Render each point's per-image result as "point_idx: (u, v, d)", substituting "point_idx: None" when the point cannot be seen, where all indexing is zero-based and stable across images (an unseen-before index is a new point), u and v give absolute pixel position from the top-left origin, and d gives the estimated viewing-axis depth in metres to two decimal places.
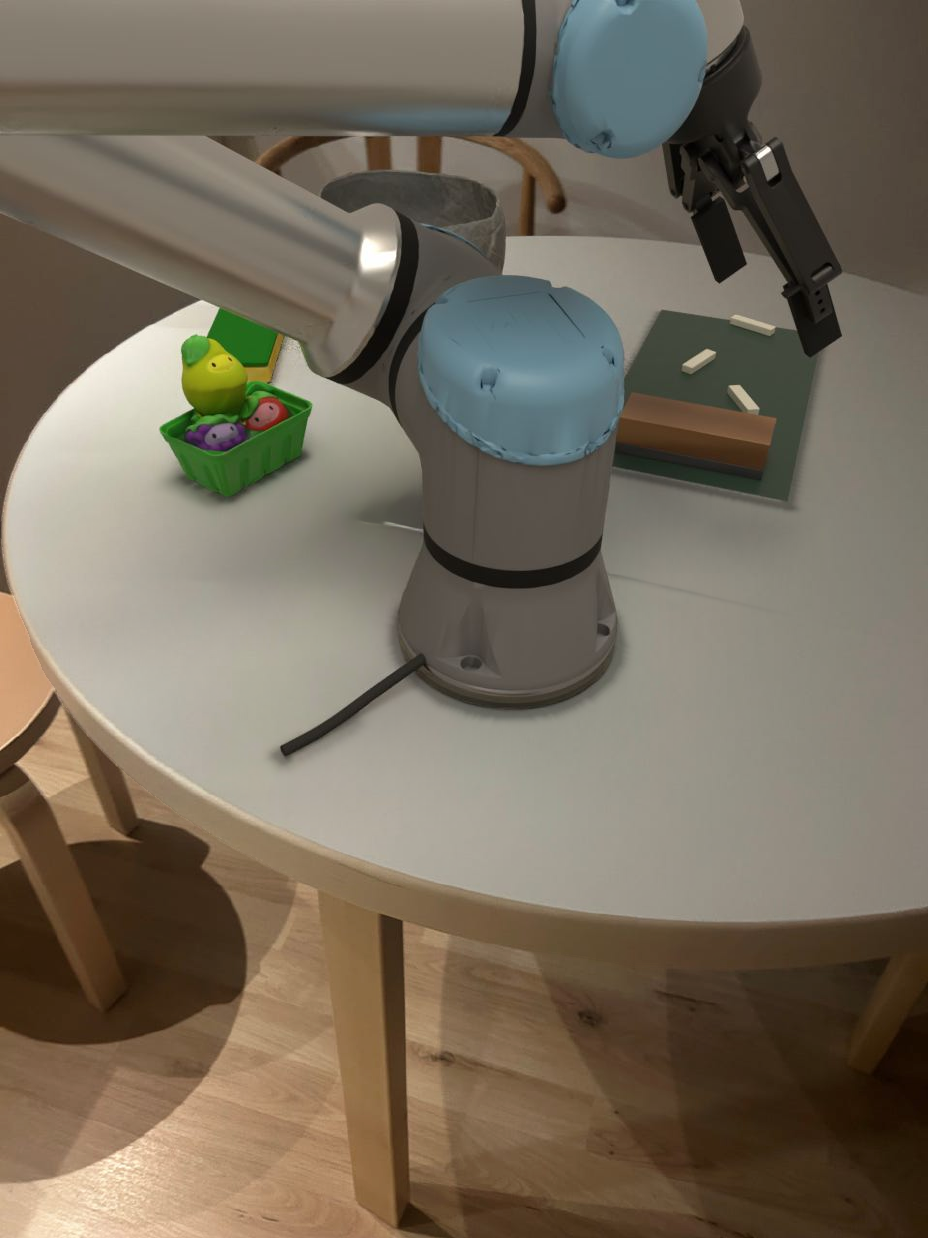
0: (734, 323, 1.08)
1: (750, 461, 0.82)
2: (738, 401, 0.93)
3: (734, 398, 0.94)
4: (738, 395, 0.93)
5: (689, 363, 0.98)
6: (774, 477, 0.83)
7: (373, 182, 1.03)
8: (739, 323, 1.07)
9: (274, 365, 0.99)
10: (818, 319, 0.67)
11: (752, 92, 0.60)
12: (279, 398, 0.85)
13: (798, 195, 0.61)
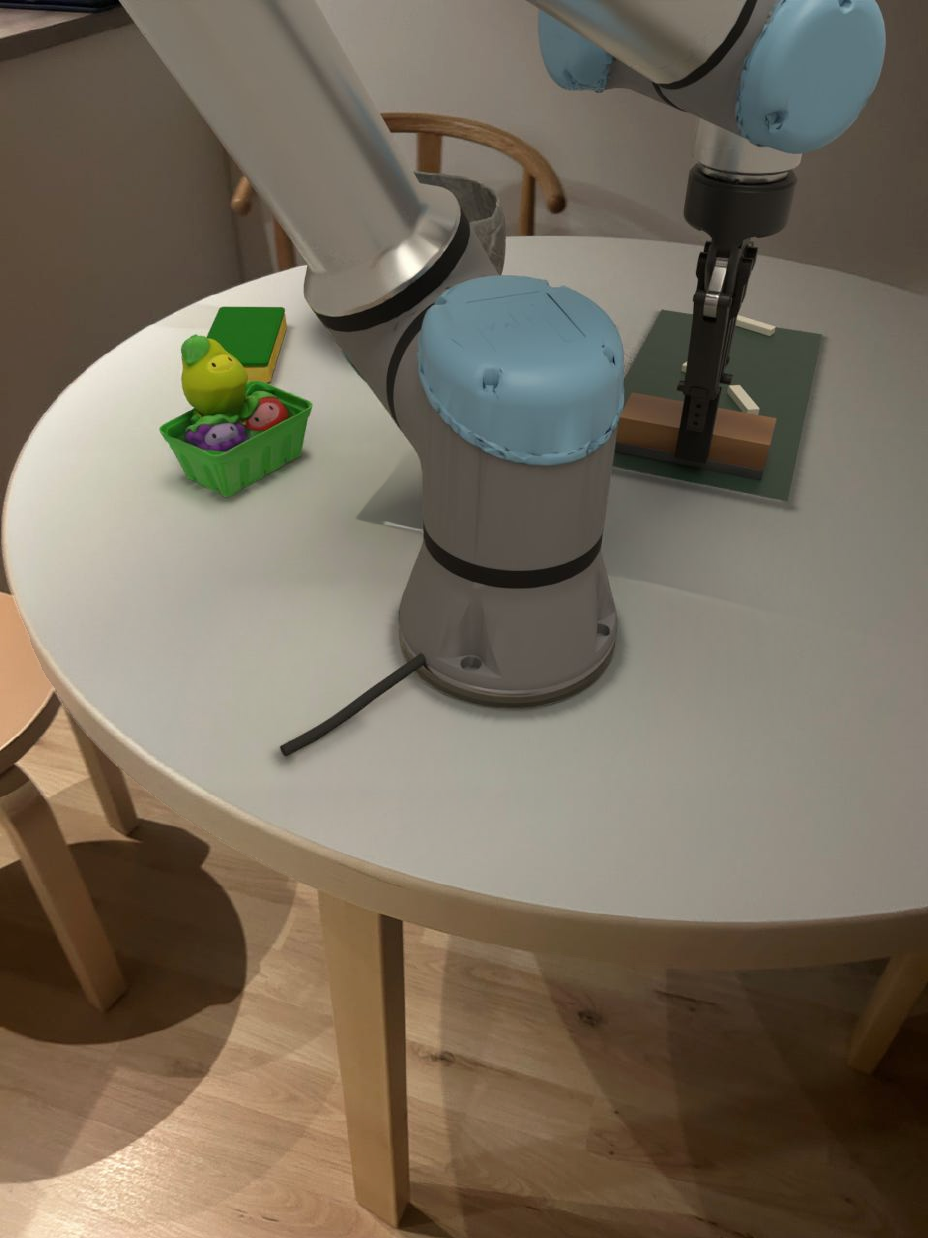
0: None
1: (750, 461, 0.82)
2: (738, 401, 0.93)
3: (734, 398, 0.94)
4: (738, 395, 0.93)
5: None
6: (774, 477, 0.83)
7: None
8: (739, 323, 1.07)
9: (274, 365, 0.99)
10: (689, 427, 0.80)
11: (754, 228, 0.67)
12: (279, 398, 0.85)
13: (718, 339, 0.71)
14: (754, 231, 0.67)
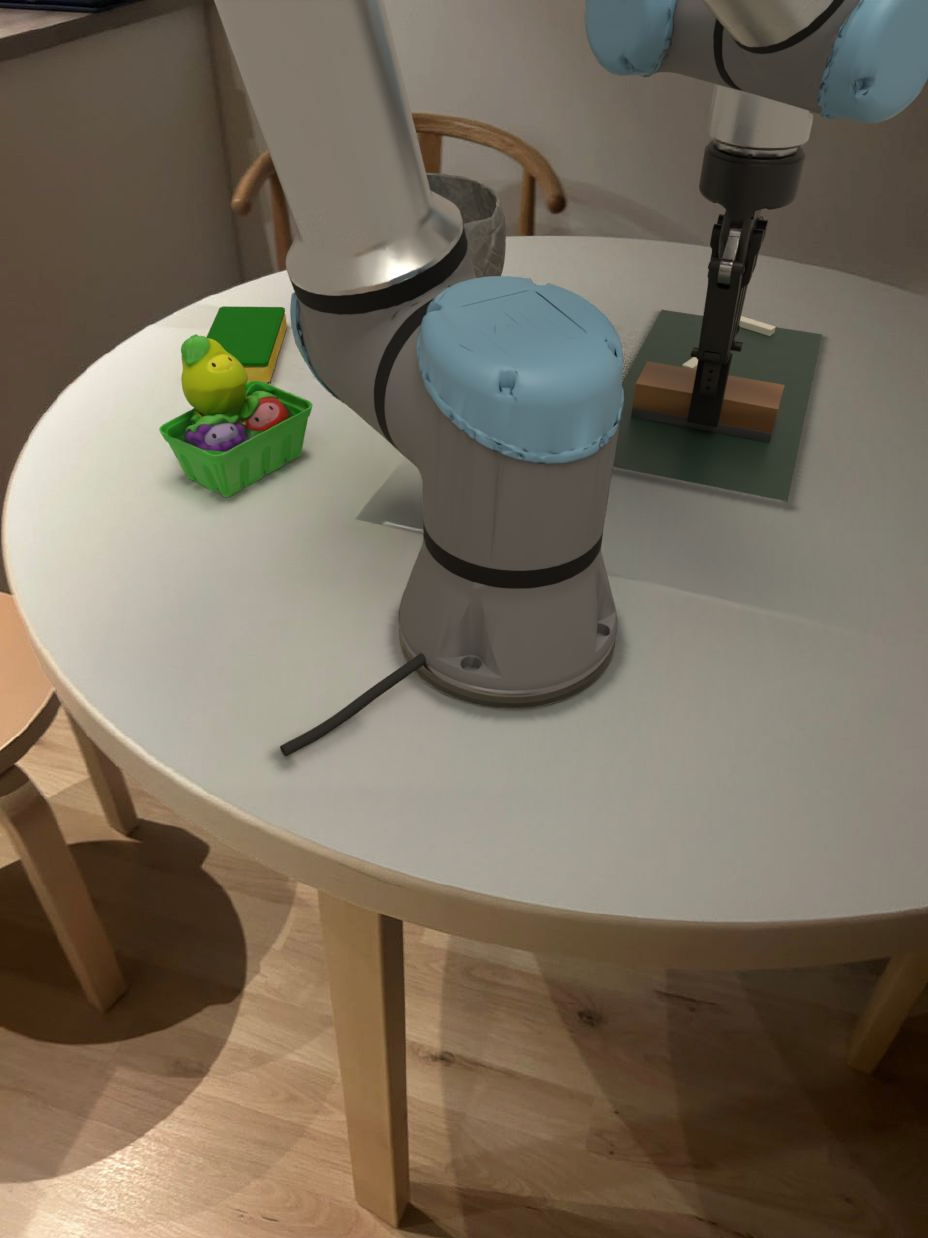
0: None
1: (759, 424, 0.87)
2: None
3: None
4: None
5: (689, 363, 0.98)
6: (774, 477, 0.83)
7: None
8: (739, 323, 1.07)
9: (274, 365, 0.99)
10: (702, 392, 0.85)
11: (766, 200, 0.72)
12: (279, 398, 0.85)
13: (731, 305, 0.76)
14: (765, 203, 0.72)
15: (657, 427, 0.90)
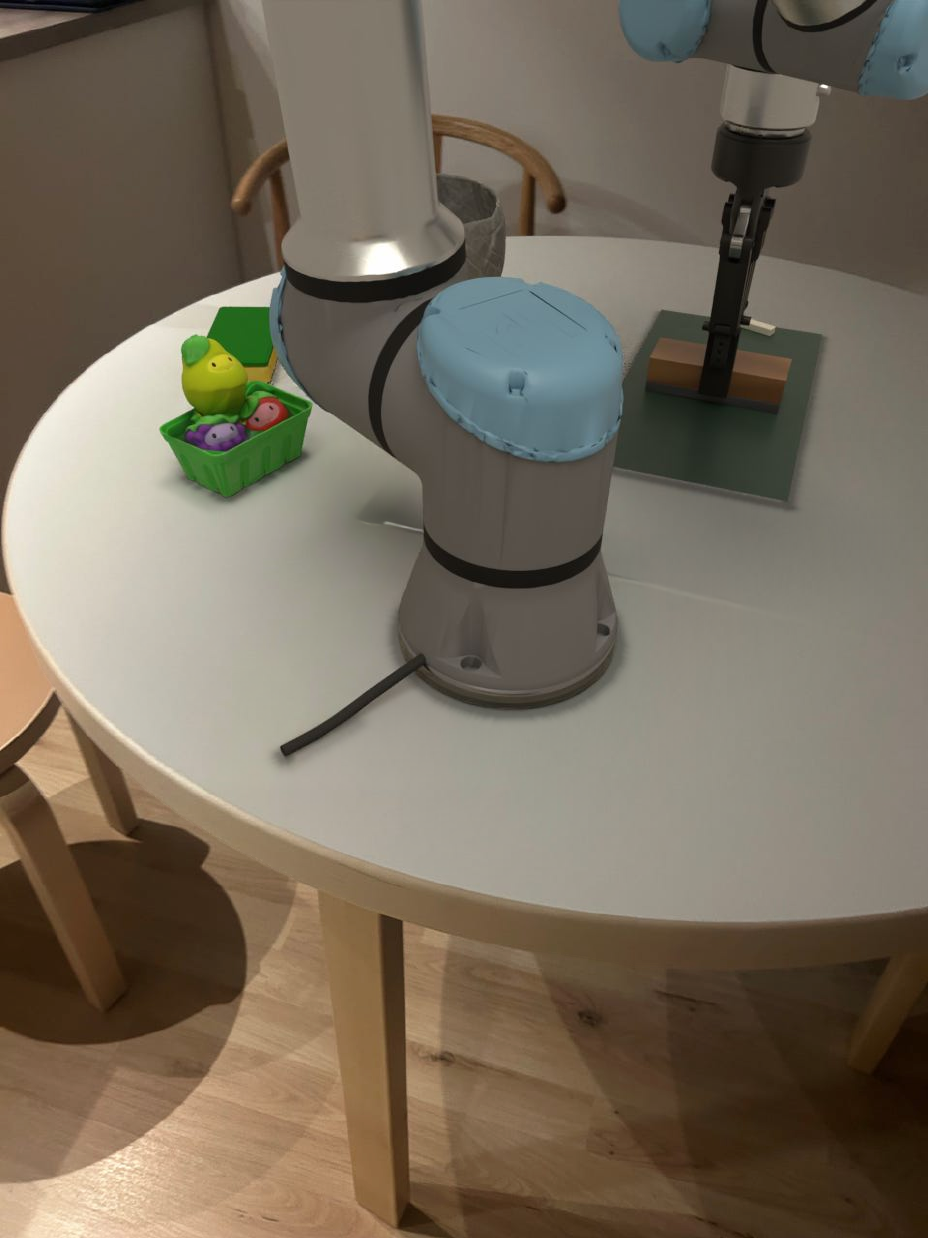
0: None
1: (768, 396, 0.91)
2: None
3: None
4: None
5: None
6: (774, 477, 0.83)
7: None
8: None
9: (274, 365, 0.99)
10: (712, 364, 0.89)
11: (775, 178, 0.76)
12: (279, 398, 0.85)
13: (741, 279, 0.80)
14: (774, 181, 0.76)
15: (657, 427, 0.90)
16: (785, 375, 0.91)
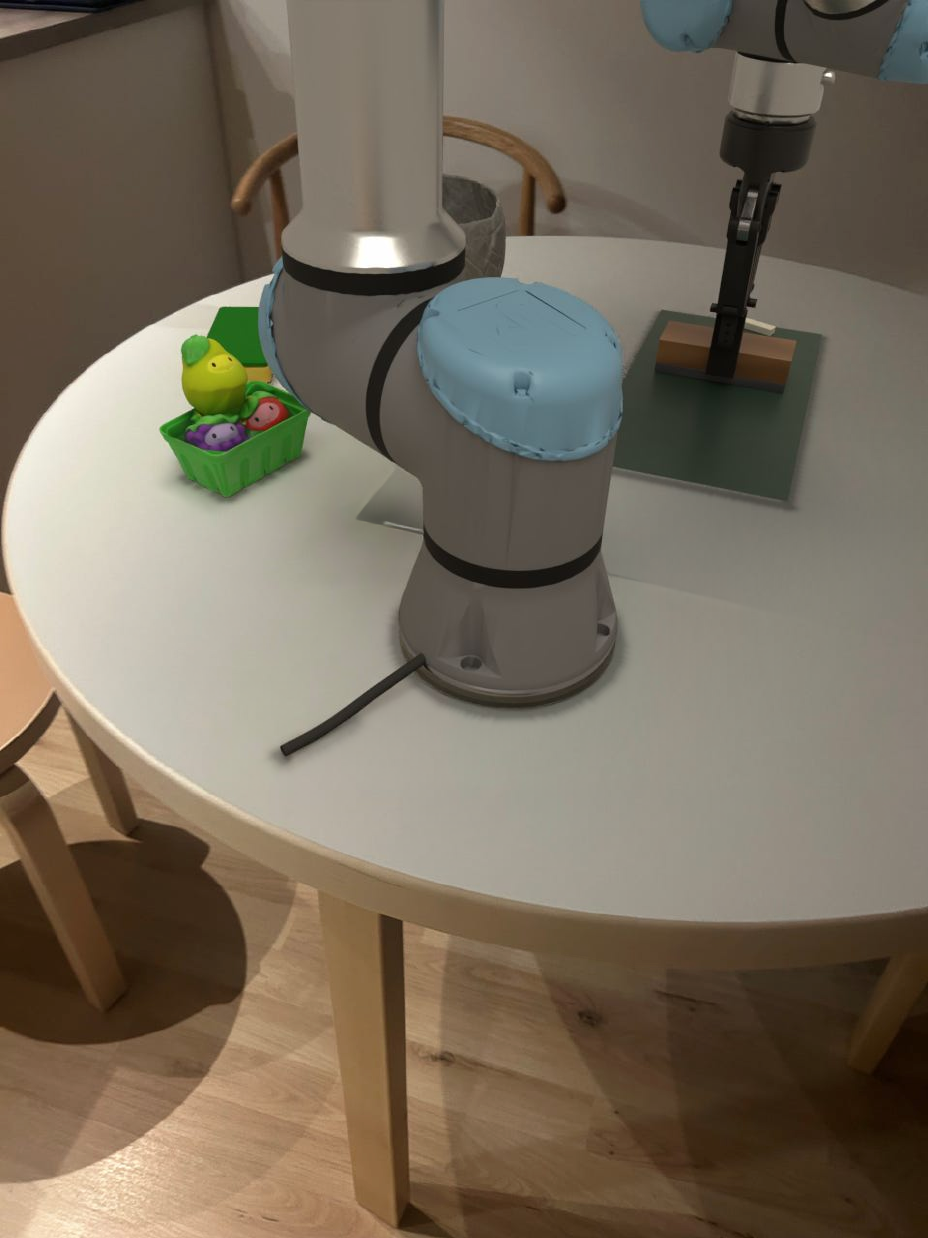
0: None
1: (774, 376, 0.95)
2: None
3: None
4: None
5: None
6: (774, 477, 0.83)
7: None
8: None
9: None
10: (719, 345, 0.92)
11: (781, 163, 0.79)
12: (279, 398, 0.85)
13: (748, 261, 0.83)
14: (781, 166, 0.80)
15: (657, 427, 0.90)
16: (790, 356, 0.94)
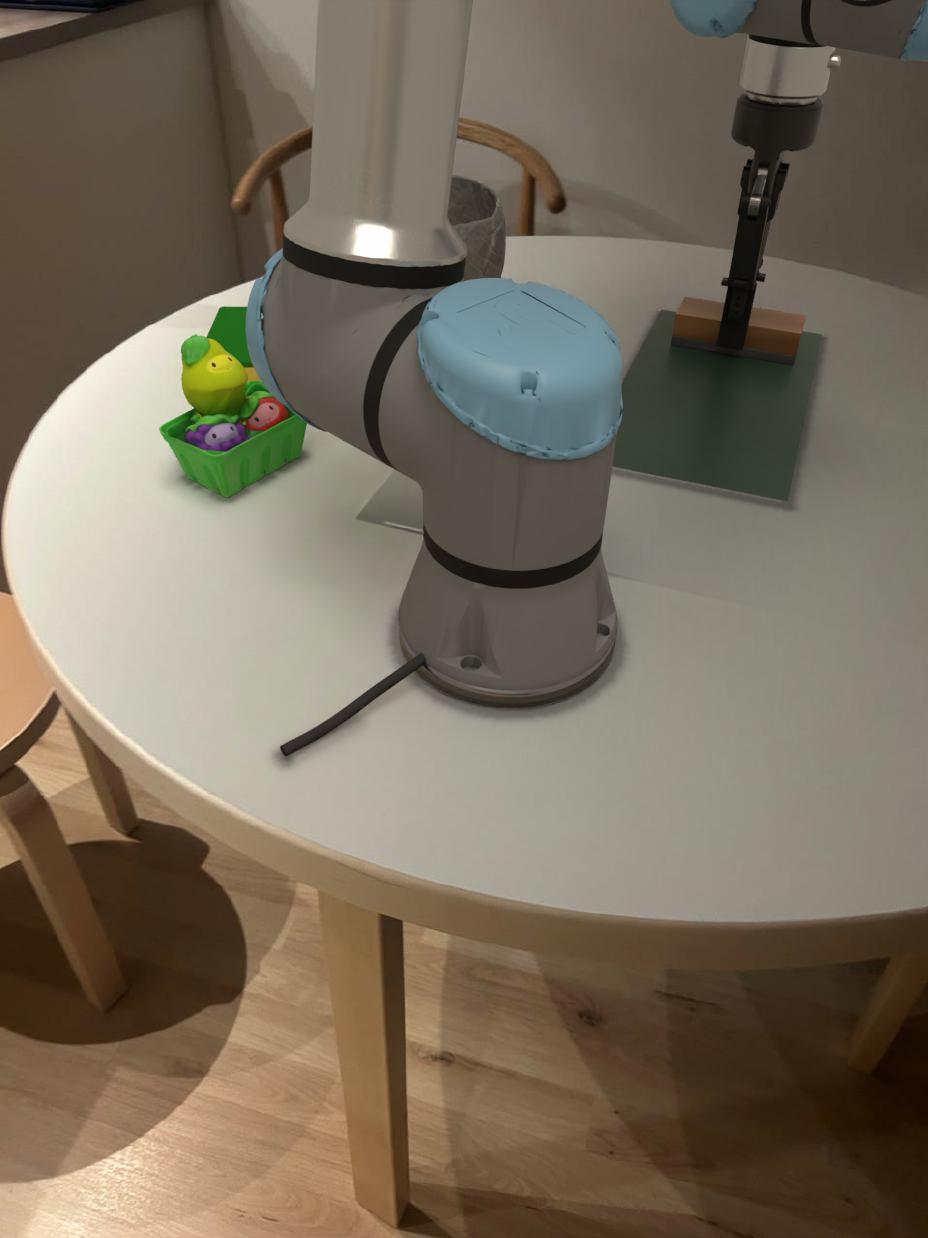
0: None
1: (784, 348, 0.99)
2: None
3: None
4: None
5: None
6: (774, 477, 0.83)
7: None
8: None
9: None
10: (730, 317, 0.97)
11: (790, 142, 0.84)
12: None
13: (758, 235, 0.88)
14: (789, 145, 0.85)
15: (657, 427, 0.90)
16: (800, 329, 0.99)
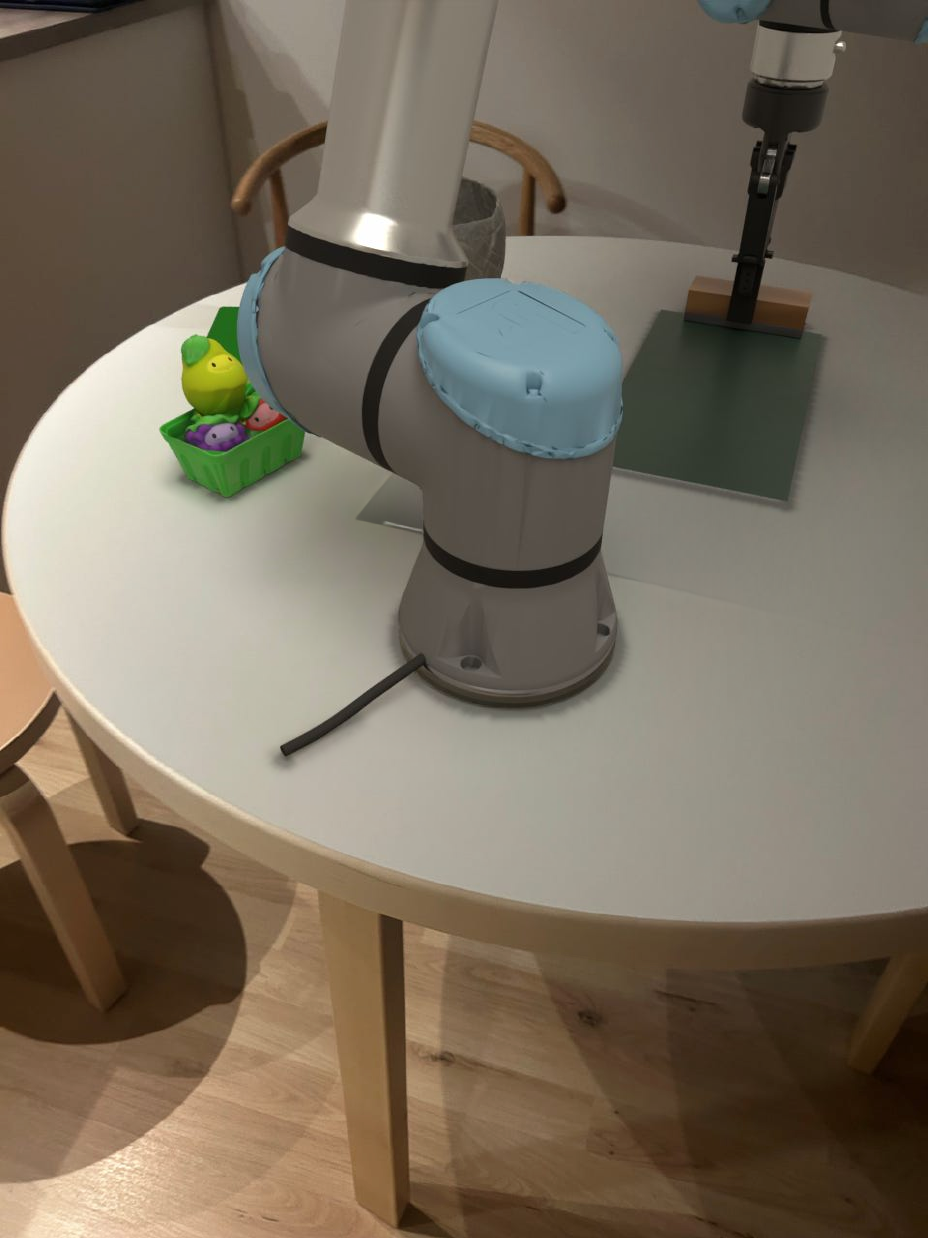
0: None
1: (793, 322, 1.04)
2: None
3: None
4: None
5: None
6: (774, 477, 0.83)
7: None
8: None
9: None
10: (740, 292, 1.02)
11: (797, 123, 0.89)
12: None
13: (767, 213, 0.94)
14: (797, 126, 0.90)
15: (657, 427, 0.90)
16: (808, 303, 1.04)
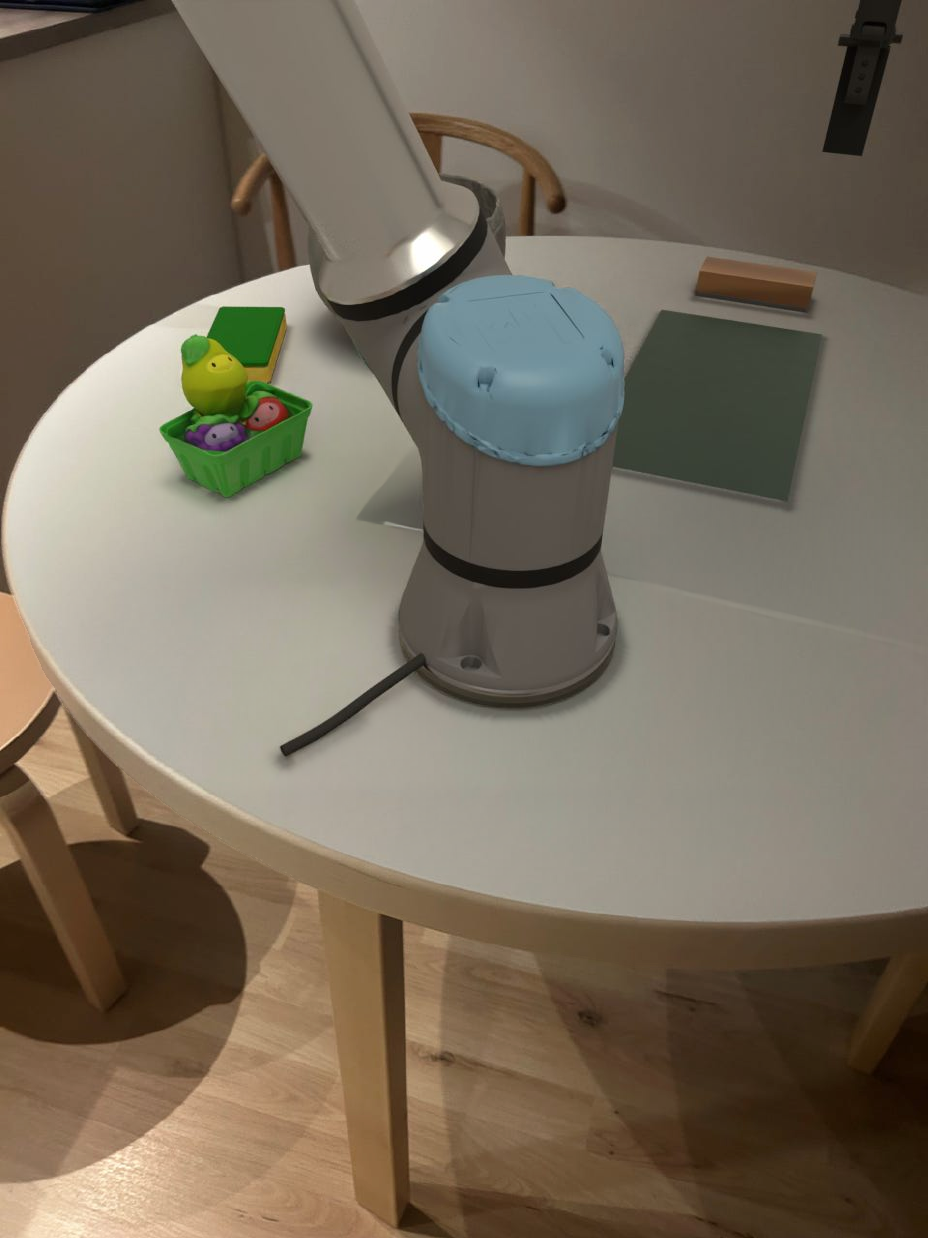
0: None
1: (798, 301, 1.10)
2: None
3: None
4: None
5: None
6: (774, 477, 0.83)
7: None
8: None
9: (274, 365, 0.99)
10: (849, 98, 0.64)
11: None
12: (279, 398, 0.85)
13: None
14: None
15: (657, 427, 0.90)
16: (812, 283, 1.10)
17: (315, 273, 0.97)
